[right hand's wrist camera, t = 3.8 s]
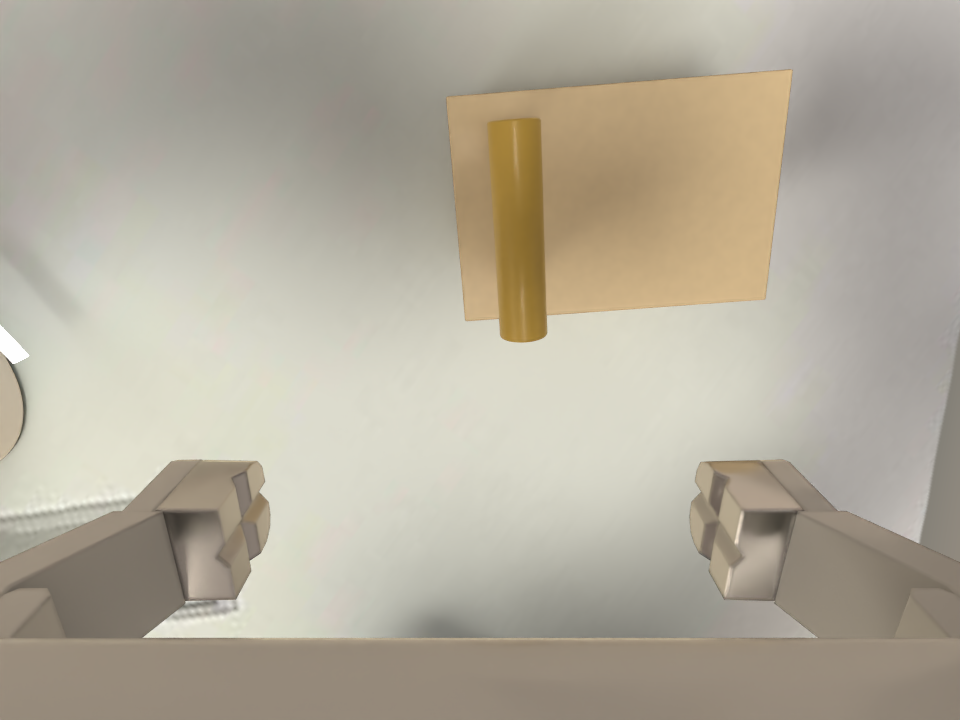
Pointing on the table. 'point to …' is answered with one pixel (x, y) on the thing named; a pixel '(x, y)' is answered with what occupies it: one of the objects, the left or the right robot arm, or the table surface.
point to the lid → (616, 195)
